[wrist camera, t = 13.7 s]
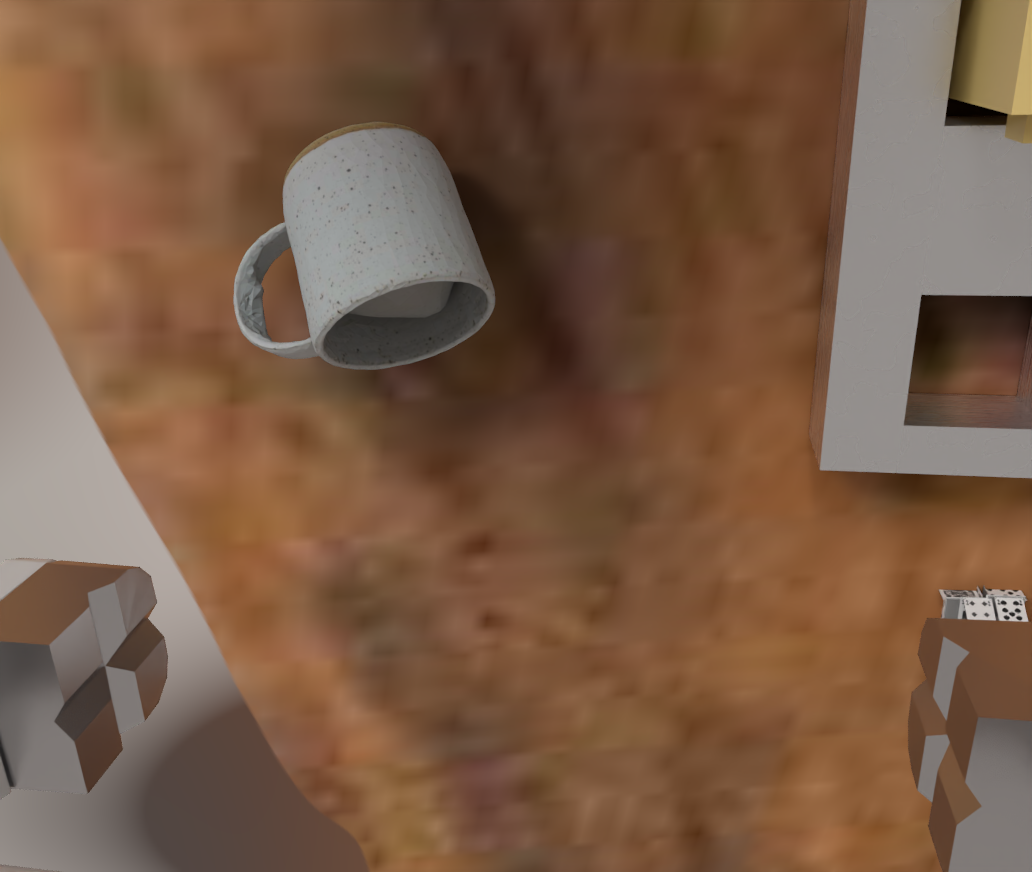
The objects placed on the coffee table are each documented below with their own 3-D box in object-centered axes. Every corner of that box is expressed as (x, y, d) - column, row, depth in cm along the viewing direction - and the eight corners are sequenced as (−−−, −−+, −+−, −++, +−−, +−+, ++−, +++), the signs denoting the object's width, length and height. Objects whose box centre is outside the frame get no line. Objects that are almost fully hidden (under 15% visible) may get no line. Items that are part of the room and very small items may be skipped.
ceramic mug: (443, 182, 45) (431, 81, 38) (499, 338, 43) (497, 264, 36) (222, 248, 44) (164, 158, 37) (268, 411, 42) (218, 350, 35)
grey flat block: (859, -96, 37) (879, -110, 33) (1204, -114, 35) (1267, -131, 31) (808, 434, 45) (820, 471, 42) (1083, 443, 43) (1122, 483, 40)
